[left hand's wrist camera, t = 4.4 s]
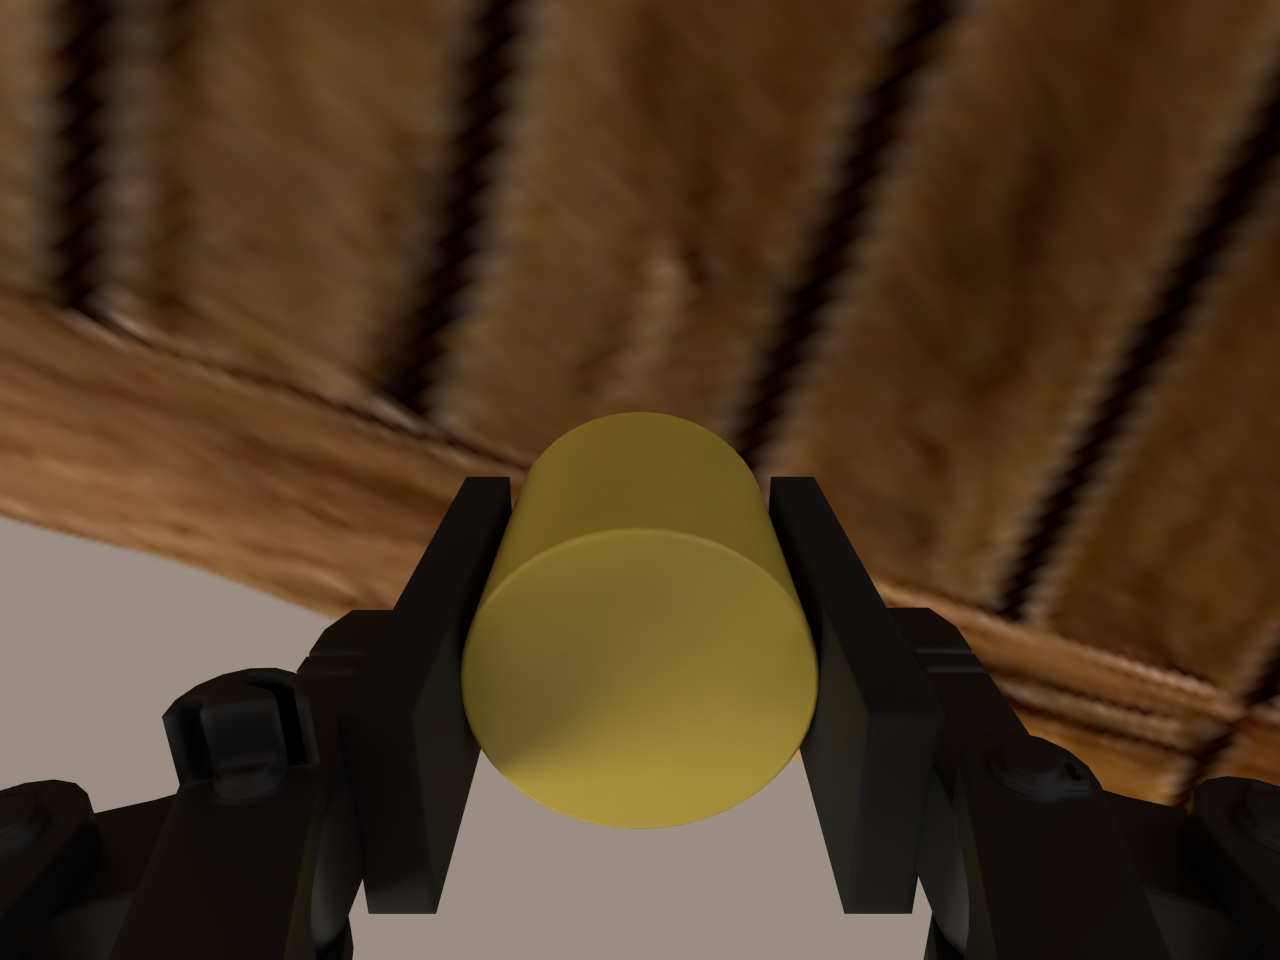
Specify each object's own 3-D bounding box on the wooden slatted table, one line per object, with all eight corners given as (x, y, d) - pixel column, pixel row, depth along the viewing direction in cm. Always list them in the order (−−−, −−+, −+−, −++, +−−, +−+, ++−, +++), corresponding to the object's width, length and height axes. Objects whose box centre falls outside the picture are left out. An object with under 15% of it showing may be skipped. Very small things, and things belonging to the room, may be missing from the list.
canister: (523, 395, 14) (467, 507, 9) (788, 428, 14) (857, 553, 10) (505, 625, 15) (451, 813, 11) (742, 651, 16) (782, 846, 11)
